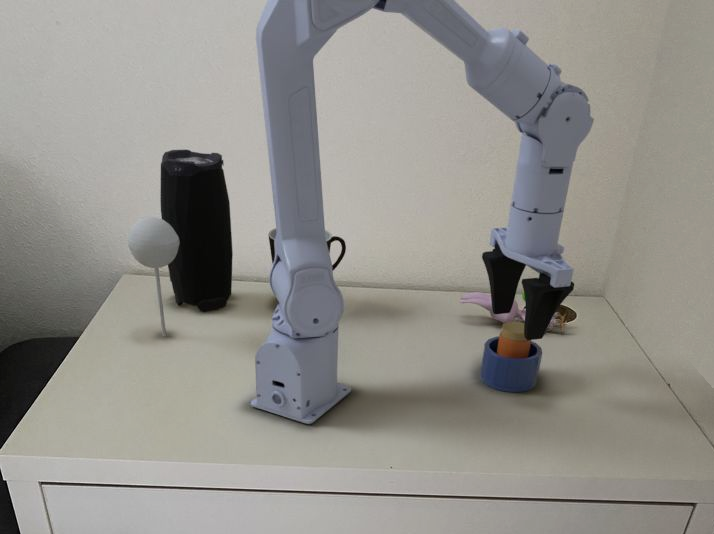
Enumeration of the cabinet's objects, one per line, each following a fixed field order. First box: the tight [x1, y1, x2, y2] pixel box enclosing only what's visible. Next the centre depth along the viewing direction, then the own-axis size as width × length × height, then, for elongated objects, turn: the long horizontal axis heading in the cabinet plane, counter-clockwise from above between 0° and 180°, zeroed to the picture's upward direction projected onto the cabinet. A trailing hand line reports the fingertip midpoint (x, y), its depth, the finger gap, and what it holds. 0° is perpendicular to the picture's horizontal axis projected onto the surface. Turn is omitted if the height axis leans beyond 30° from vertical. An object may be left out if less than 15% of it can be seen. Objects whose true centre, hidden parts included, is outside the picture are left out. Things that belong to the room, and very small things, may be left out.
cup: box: [479, 335, 543, 393], centre depth 94 cm, size 7×7×4 cm
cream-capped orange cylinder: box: [497, 321, 532, 359], centre depth 93 cm, size 4×4×6 cm
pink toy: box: [459, 290, 568, 334], centre depth 108 cm, size 6×6×15 cm
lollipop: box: [126, 216, 180, 337], centre depth 96 cm, size 6×6×15 cm
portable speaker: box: [159, 149, 234, 313], centre depth 104 cm, size 9×9×20 cm
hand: (516, 325), depth 91 cm, fingers open, 7 cm apart
